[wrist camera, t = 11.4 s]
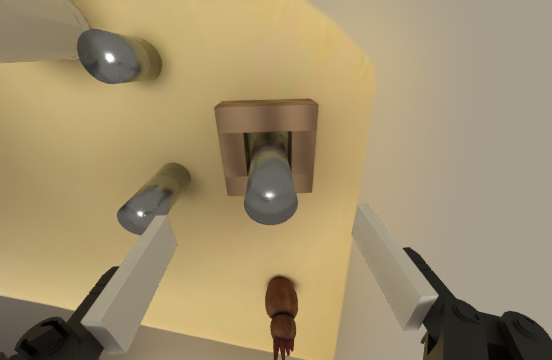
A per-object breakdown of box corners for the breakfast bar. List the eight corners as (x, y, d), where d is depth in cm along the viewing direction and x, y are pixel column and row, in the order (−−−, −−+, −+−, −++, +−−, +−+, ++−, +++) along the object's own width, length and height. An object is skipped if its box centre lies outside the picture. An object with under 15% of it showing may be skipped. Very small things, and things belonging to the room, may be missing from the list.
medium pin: (165, 188, 34) (125, 235, 24) (157, 163, 32) (110, 205, 22) (192, 187, 34) (163, 234, 25) (186, 162, 32) (152, 203, 22)
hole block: (232, 179, 34) (227, 195, 29) (222, 101, 28) (214, 107, 24) (305, 176, 34) (311, 192, 30) (310, 98, 28) (318, 104, 24)
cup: (114, 41, 24) (-1, 20, 14) (72, 81, 26) (-58, 90, 16) (46, -39, 21) (-175, -146, 10) (4, 14, 23) (-221, -32, 12)
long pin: (255, 156, 32) (246, 226, 18) (253, 128, 30) (241, 182, 16) (283, 155, 32) (296, 223, 18) (283, 127, 30) (298, 180, 16)
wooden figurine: (260, 283, 47) (258, 368, 34) (277, 270, 45) (281, 354, 32) (282, 294, 49) (288, 377, 36) (299, 282, 47) (312, 365, 34)
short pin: (130, 80, 26) (90, 84, 20) (117, 39, 24) (67, 29, 18) (165, 79, 27) (135, 83, 20) (155, 38, 24) (118, 28, 18)
